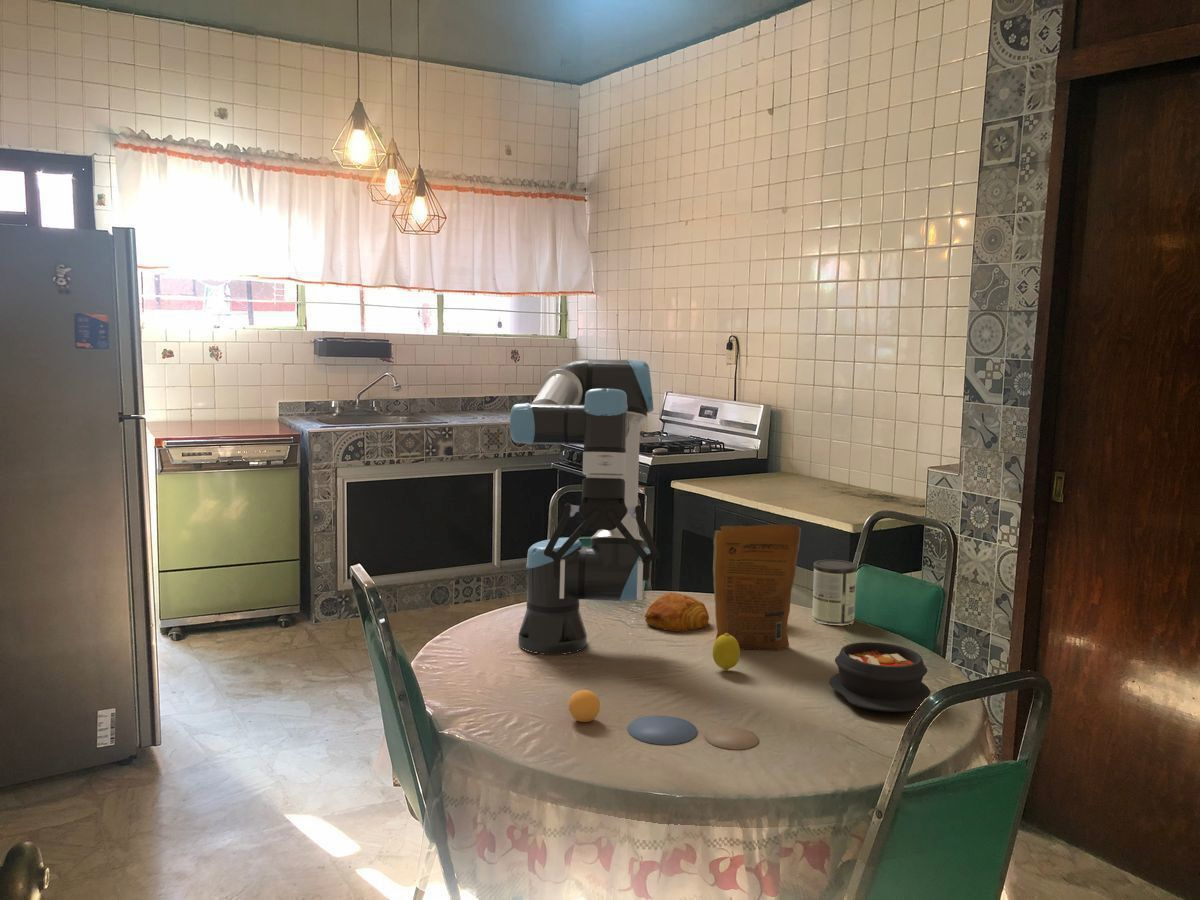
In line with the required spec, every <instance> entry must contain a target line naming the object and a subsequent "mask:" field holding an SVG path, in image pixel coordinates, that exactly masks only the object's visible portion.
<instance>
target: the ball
mask: <svg viewBox="0 0 1200 900" xmlns="http://www.w3.org/2000/svg"><path fill="white" fill-rule="evenodd" d="M600 709H601V703H600V699H599V698H598V696H597V694H595V693H594V692H593V691H591V690H588V689H580V690H578V691H576V692H574V693H573V694H572V695H571V697H570V699H569V702H568V711H569V713H570V715H571V716H572V718H573V719H575V720H576V721H578V722H581V723H588V722H591V721H593V720H594V719H595V718H596V717H597V716H598V714H599V713H600Z"/></svg>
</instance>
